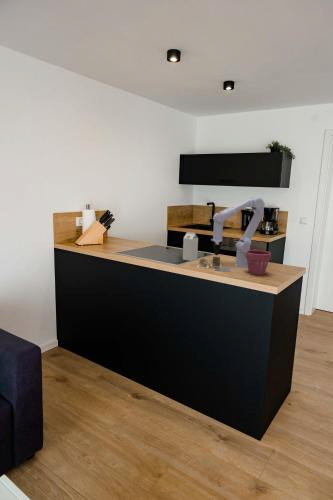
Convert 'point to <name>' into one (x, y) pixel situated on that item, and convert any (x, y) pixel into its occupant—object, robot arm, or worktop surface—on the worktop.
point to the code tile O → (204, 267)
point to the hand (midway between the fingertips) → (216, 253)
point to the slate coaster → (222, 269)
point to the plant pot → (257, 261)
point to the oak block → (203, 262)
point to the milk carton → (190, 246)
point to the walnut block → (216, 261)
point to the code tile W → (217, 266)
